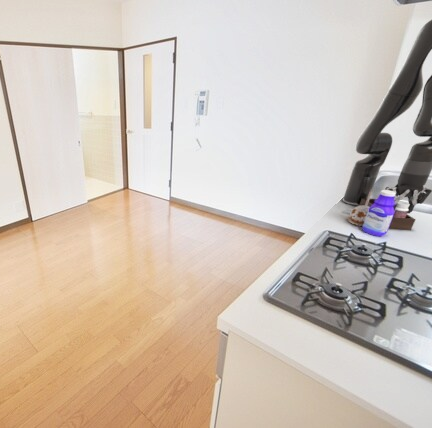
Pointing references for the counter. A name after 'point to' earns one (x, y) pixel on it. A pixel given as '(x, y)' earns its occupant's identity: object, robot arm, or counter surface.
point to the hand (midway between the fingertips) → (398, 212)
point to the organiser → (396, 222)
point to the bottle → (380, 214)
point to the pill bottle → (401, 210)
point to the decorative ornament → (360, 212)
